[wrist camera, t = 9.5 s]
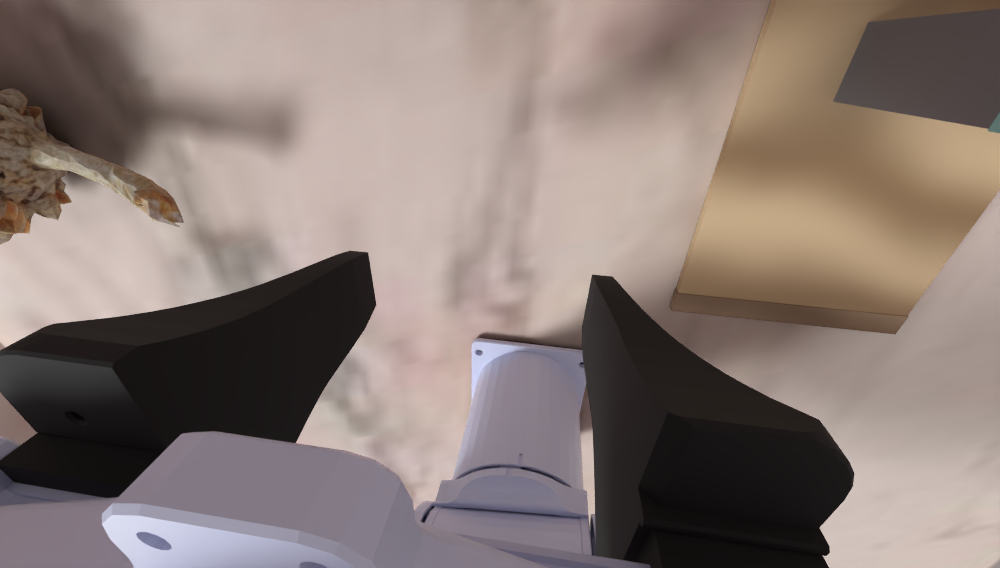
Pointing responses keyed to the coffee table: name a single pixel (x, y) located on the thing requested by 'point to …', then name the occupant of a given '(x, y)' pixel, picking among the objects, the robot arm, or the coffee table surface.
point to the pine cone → (57, 172)
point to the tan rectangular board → (832, 184)
